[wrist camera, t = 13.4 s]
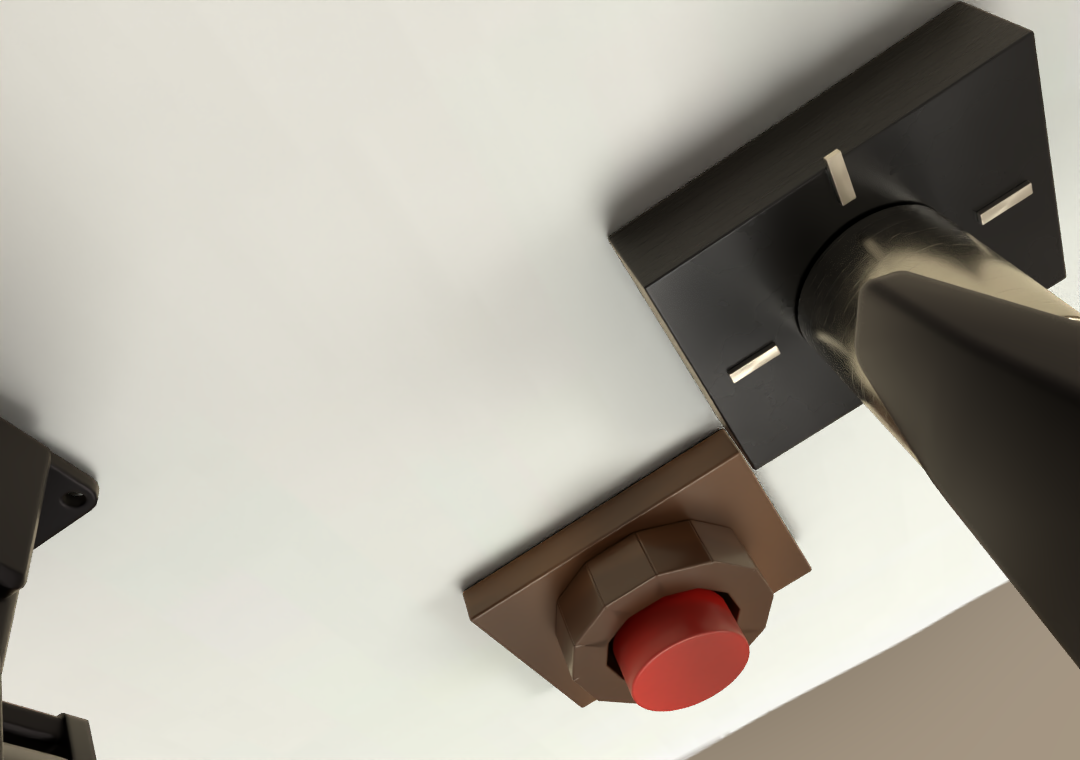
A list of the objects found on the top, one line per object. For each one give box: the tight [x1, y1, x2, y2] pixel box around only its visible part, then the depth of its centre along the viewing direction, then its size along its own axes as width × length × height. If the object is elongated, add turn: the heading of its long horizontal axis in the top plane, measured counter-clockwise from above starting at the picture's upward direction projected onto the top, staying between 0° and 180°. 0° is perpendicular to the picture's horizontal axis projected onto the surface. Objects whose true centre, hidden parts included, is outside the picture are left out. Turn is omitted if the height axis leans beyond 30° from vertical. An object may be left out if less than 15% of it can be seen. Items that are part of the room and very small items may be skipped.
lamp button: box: [613, 588, 750, 711], centre depth 28 cm, size 4×4×2 cm
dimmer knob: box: [798, 205, 1080, 468], centre depth 20 cm, size 4×4×5 cm
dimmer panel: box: [608, 1, 1066, 470], centre depth 23 cm, size 10×9×3 cm
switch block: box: [463, 429, 812, 708], centre depth 30 cm, size 10×8×3 cm
